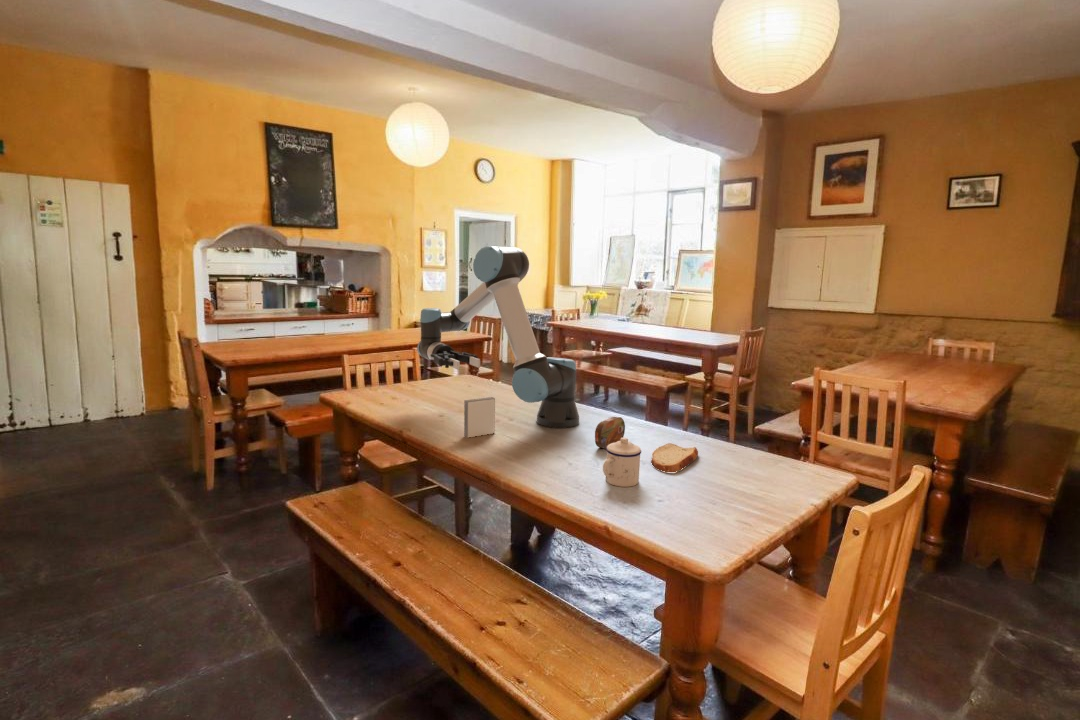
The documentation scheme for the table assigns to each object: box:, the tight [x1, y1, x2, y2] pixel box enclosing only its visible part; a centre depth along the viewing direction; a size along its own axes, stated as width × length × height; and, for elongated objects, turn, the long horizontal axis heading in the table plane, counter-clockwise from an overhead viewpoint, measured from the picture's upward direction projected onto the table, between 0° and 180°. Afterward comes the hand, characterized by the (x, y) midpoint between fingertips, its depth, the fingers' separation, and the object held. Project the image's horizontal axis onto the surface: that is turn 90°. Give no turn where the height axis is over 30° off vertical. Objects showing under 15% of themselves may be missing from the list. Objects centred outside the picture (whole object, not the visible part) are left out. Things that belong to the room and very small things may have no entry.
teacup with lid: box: [602, 437, 642, 488], centre depth 145 cm, size 12×9×12 cm
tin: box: [594, 416, 626, 450], centre depth 175 cm, size 15×3×8 cm, turn 143°
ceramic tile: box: [463, 396, 496, 439], centre depth 181 cm, size 2×10×12 cm, turn 123°
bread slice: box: [650, 442, 699, 472], centre depth 163 cm, size 18×18×4 cm
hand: (469, 364), depth 185 cm, fingers open, 7 cm apart
